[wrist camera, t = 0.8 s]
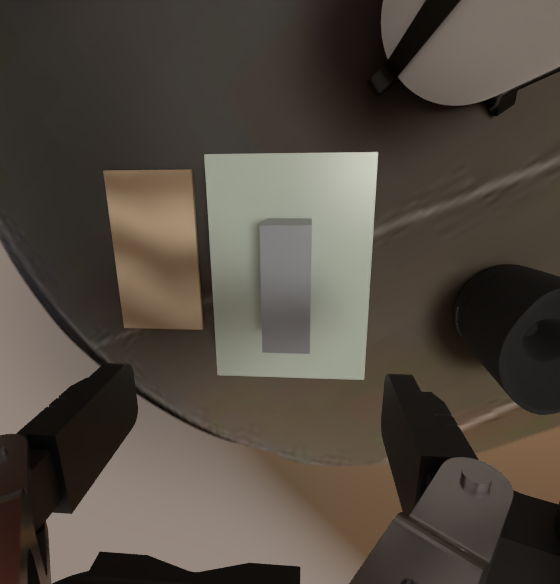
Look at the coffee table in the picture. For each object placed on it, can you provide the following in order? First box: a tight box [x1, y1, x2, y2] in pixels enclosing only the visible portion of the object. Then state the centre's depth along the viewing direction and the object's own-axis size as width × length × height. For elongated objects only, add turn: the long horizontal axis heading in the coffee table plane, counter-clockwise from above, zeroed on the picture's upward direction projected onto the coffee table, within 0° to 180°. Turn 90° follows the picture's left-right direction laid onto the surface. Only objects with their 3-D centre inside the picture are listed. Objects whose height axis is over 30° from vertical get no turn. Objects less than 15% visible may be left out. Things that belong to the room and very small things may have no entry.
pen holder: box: [454, 265, 560, 415], centre depth 30 cm, size 9×9×10 cm
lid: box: [204, 152, 378, 380], centre depth 26 cm, size 16×11×7 cm
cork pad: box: [103, 170, 204, 330], centre depth 35 cm, size 15×8×1 cm, turn 0°
